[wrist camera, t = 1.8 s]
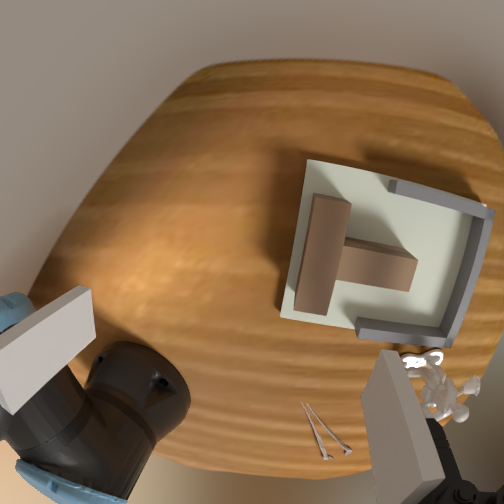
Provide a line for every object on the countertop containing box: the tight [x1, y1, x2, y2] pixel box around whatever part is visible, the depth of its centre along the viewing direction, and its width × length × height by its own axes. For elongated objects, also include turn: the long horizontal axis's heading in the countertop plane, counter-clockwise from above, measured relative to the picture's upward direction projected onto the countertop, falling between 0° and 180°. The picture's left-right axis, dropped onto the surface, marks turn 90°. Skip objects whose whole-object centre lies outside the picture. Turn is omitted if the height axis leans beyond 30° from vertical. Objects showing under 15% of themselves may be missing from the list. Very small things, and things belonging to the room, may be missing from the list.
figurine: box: [400, 349, 480, 422], centre depth 25 cm, size 5×9×12 cm, turn 111°
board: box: [280, 159, 495, 348], centre depth 27 cm, size 20×16×3 cm
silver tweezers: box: [301, 402, 353, 460], centre depth 36 cm, size 17×5×2 cm, turn 30°
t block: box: [293, 193, 418, 316], centre depth 26 cm, size 10×10×4 cm
